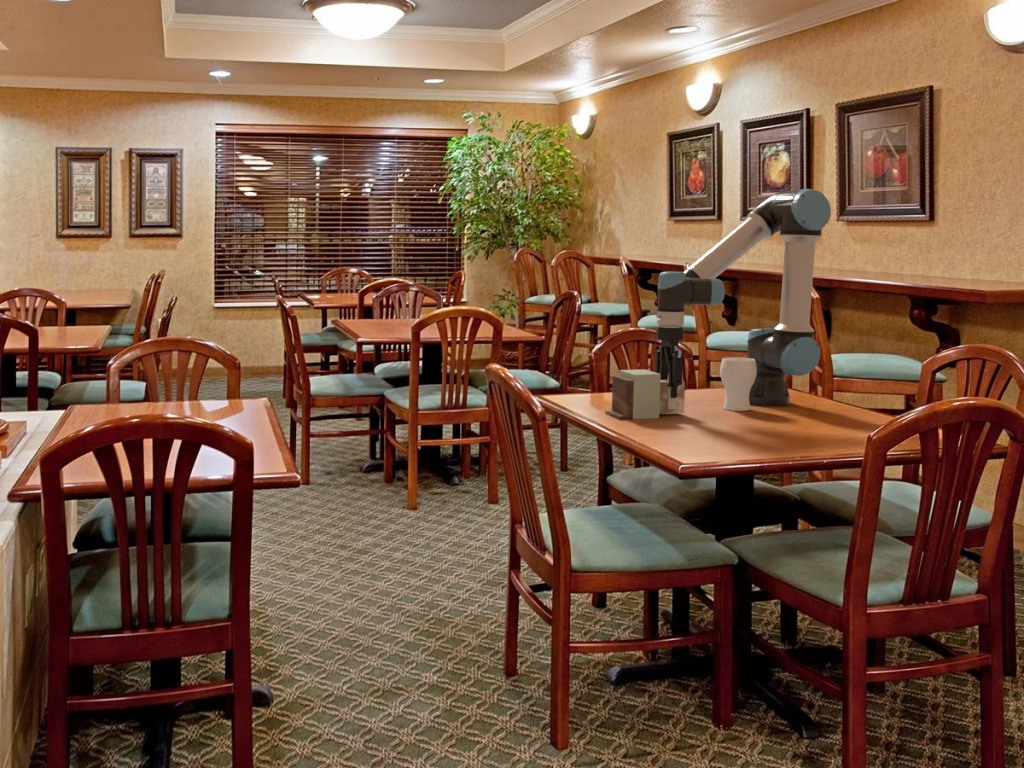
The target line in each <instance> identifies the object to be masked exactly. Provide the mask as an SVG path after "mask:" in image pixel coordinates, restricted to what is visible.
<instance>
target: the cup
mask: <svg viewBox="0 0 1024 768" xmlns="http://www.w3.org/2000/svg"><path fill="white" fill-rule="evenodd" d="M721 359H722V360H721V363H720V366H719V367H720V369H719V375H720V378H721V382H722V385H723V386H724V392H725V398H724V404H723V409H724V410H727V411H733V412H734V411H735V412H744V411H745V412H746V411H750V410H751V404H750V403H749V394H750V389H751V387H752V385H753V383H754V381H755V378H756V375H757V366H756V361H755V359H751V358H747V357H739V356H738V357H733V356H730V357H722V358H721Z"/></svg>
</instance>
